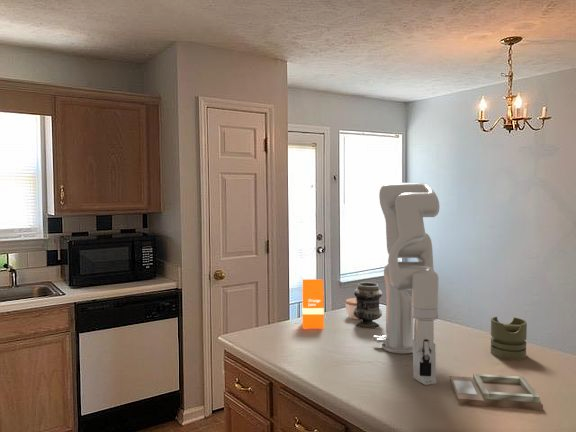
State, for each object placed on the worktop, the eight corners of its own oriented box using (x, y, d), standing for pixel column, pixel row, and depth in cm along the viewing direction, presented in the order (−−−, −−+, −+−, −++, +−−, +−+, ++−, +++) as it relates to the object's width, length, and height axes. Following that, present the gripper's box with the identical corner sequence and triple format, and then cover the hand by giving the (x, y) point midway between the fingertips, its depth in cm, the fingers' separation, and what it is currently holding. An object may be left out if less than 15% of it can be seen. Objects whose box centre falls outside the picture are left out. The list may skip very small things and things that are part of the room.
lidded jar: (344, 320, 213) (344, 299, 213) (345, 313, 224) (345, 294, 223) (369, 321, 211) (369, 300, 211) (369, 314, 222) (369, 294, 221)
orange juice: (323, 328, 200) (323, 281, 199) (302, 328, 200) (302, 281, 199) (322, 323, 208) (322, 277, 207) (302, 323, 208) (302, 277, 207)
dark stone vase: (375, 331, 196) (375, 287, 195) (348, 327, 202) (348, 284, 201) (386, 324, 206) (386, 282, 205) (360, 320, 212) (360, 280, 211)
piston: (488, 315, 173) (521, 317, 171) (487, 348, 174) (520, 350, 172) (494, 324, 162) (531, 325, 160) (494, 358, 163) (530, 361, 161)
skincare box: (436, 383, 142) (437, 343, 141) (424, 385, 140) (424, 345, 140) (424, 375, 148) (424, 337, 147) (411, 377, 146) (412, 339, 145)
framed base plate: (458, 404, 128) (458, 393, 128) (449, 380, 144) (449, 371, 144) (542, 410, 125) (543, 398, 124) (524, 385, 140) (524, 375, 140)
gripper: (409, 304, 152) (409, 359, 153) (413, 319, 135) (413, 381, 136) (434, 305, 151) (433, 360, 152) (441, 321, 133) (440, 383, 135)
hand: (424, 370), depth 144 cm, fingers closed on skincare box, 7 cm apart
